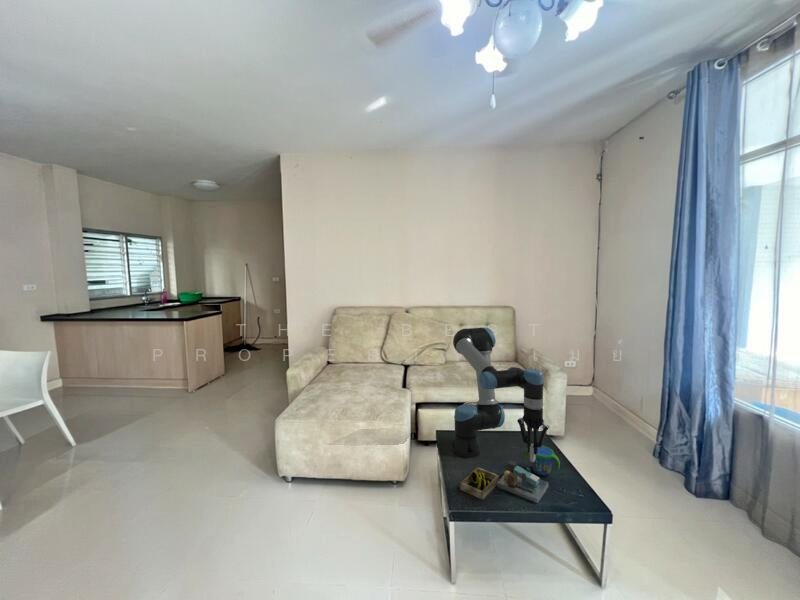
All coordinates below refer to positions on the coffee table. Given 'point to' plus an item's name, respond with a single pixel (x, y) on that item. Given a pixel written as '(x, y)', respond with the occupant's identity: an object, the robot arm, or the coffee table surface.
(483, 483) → the opera glasses
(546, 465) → the snack cup
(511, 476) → the brown rectangular block
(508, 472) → the ochre button
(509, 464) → the dark grey block
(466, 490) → the wooden tray
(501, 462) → the coffee table surface
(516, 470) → the block
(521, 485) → the panel
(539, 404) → the robot arm
